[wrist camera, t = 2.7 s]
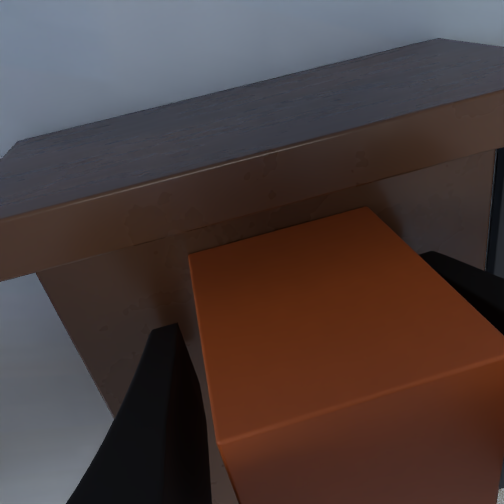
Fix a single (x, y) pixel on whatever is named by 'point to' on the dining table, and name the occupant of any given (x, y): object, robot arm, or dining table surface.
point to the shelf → (246, 190)
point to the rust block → (347, 369)
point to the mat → (498, 236)
